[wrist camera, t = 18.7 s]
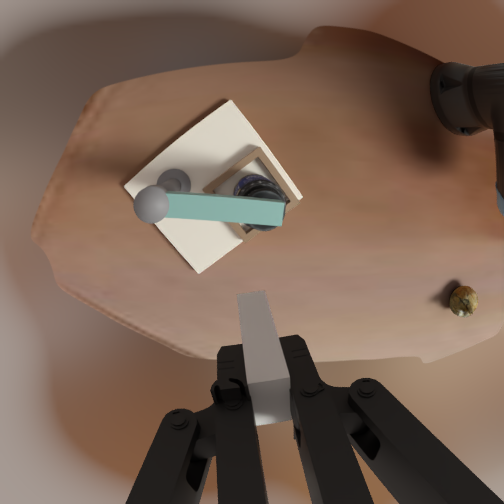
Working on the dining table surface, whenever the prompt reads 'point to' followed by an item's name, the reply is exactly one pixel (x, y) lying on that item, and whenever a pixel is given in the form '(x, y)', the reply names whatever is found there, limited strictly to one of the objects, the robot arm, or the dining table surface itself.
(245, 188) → the pill bottle
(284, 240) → the dining table surface
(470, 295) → the onion
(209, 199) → the keeper arm
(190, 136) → the base board
